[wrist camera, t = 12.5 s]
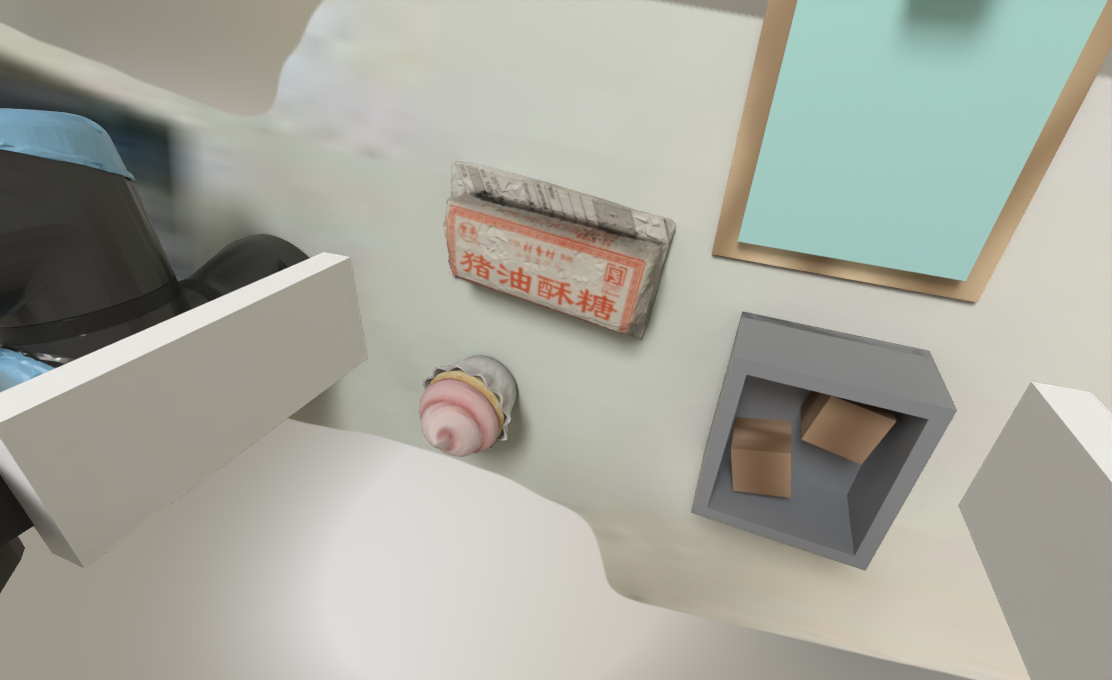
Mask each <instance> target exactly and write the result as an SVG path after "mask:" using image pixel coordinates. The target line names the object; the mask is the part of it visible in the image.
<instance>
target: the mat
mask: <svg viewBox="0 0 1112 680" xmlns="http://www.w3.org/2000/svg"><path fill="white" fill-rule="evenodd" d="M796 4H797V0H768V4H767V9H766V13H765V18H764V22H763V27H762V31H761V36H760V40H759V44H758V49H757V53H756V58H755V62H754V67H753V71H752V76H751V80H750V85H749V89H748V94H747V98H746V103H745V107H744V112H743V116H742V121H741V125H740V130H739V134H738V139H737V143H736V148H735V152H734V157H733V161H732V166H731V170H730V175H729V179H728V184H727V188H726V193H725V197H724V202H723V206H722V211H721V215H720V220H719V224H718V229H717V233H716V238H715V242H714V247H713V251H712V254H714V255H719V256H725V257H730V258H736V259H741V260H747V261H752V262H758V263H763V264H769V265H774V266H780V267H785V268H791V269H796V270H802V271H807V272H813V273H818V274H824V275H829V276H835V277H840V278H846V279H851V280H857V281H862V282H868V283H873V284H879V285H884V286H890V287H895V288H901V289H906V290H912V291H917V292H922V293H928V294H933V295H939V296H944V297H950V298H955V299H961V300H966V301H972V302H978V300H979V298H980V296H981V294H982V293H983V291H984V289H985V287H986V285H987V283H988V281H989V279H990V277H991V275H992V274H993V272H994V270H995V268H996V266H997V264H998V262H999V260H1000V258H1001V256H1002V255H1003V253H1004V251H1005V249H1006V247H1007V245H1008V243H1009V241H1010V239H1011V237H1012V236H1013V234H1014V232H1015V230H1016V228H1017V226H1018V224H1019V222H1020V220H1021V218H1022V216H1023V215H1024V213H1025V211H1026V209H1027V207H1028V205H1029V203H1030V201H1031V199H1032V197H1033V196H1034V194H1035V192H1036V190H1037V188H1038V186H1039V184H1040V182H1041V180H1042V178H1043V177H1044V175H1045V173H1046V171H1047V169H1048V167H1049V165H1050V163H1051V161H1052V159H1053V158H1054V156H1055V154H1056V152H1057V150H1058V148H1059V146H1060V144H1061V142H1062V140H1063V138H1064V137H1065V135H1066V133H1067V131H1068V129H1069V127H1070V125H1071V123H1072V121H1073V119H1074V118H1075V116H1076V114H1077V112H1078V110H1079V108H1080V106H1081V104H1082V102H1083V100H1084V99H1085V97H1086V95H1087V93H1088V91H1089V89H1090V87H1091V85H1092V83H1093V81H1094V80H1095V78H1096V76H1097V74H1098V72H1099V70H1100V68H1101V66H1102V64H1103V62H1104V61H1105V58H1106V57H1107V55H1108V53H1109V51H1110V49H1111V47H1112V0H1108V1H1107V3H1106V5H1105V7H1104V9H1103V10H1102V12H1101V14H1100V16H1099V18H1098V20H1097V22H1096V24H1095V26H1094V28H1093V30H1092V32H1091V34H1090V36H1089V38H1088V40H1087V42H1086V44H1085V46H1084V48H1083V50H1082V52H1081V54H1080V56H1079V58H1078V60H1077V62H1076V64H1075V66H1074V68H1073V70H1072V72H1071V74H1070V76H1069V78H1068V80H1067V82H1066V84H1065V86H1064V88H1063V90H1062V92H1061V94H1060V96H1059V98H1058V100H1057V102H1056V104H1055V106H1054V108H1053V110H1052V112H1051V114H1050V115H1049V117H1048V119H1047V121H1046V123H1045V125H1044V127H1043V129H1042V131H1041V133H1040V135H1039V137H1038V139H1037V141H1036V143H1035V145H1034V147H1033V149H1032V151H1031V153H1030V155H1029V157H1028V159H1027V161H1026V163H1025V165H1024V167H1023V169H1022V171H1021V173H1020V175H1019V177H1018V179H1017V181H1016V183H1015V185H1014V187H1013V189H1012V191H1011V193H1010V195H1009V197H1008V199H1007V201H1006V203H1005V205H1004V207H1003V209H1002V211H1001V213H1000V215H999V217H998V219H997V220H996V222H995V224H994V226H993V228H992V230H991V232H990V234H989V236H988V238H987V240H986V242H985V244H984V246H983V248H982V250H981V252H980V254H979V256H978V258H977V260H976V262H975V264H974V266H973V268H972V270H971V272H970V274H969V276H968V278H967V280H966V281H962V280H956V279H950V278H945V277H939V276H933V275H927V274H922V273H916V272H910V271H905V270H899V269H893V268H887V267H882V266H876V265H870V264H864V263H859V262H853V261H847V260H842V259H836V258H830V257H824V256H819V255H813V254H807V253H801V252H796V251H790V250H784V249H779V248H773V247H767V246H761V245H756V244H750V243H744V242H738V238H739V234H740V230H741V226H742V222H743V218H744V214H745V210H746V206H747V201H748V197H749V193H750V189H751V185H752V181H753V177H754V173H755V169H756V165H757V161H758V157H759V153H760V149H761V145H762V141H763V137H764V133H765V129H766V125H767V121H768V117H769V113H770V109H771V105H772V101H773V97H774V93H775V89H776V85H777V81H778V77H779V73H780V69H781V65H782V61H783V57H784V53H785V49H786V45H787V41H788V37H789V33H790V29H791V25H792V21H793V17H794V13H795V9H796Z"/></svg>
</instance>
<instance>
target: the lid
mask: <svg viewBox="0 0 1112 680" xmlns="http://www.w3.org/2000/svg"><path fill="white" fill-rule="evenodd" d="M1107 1H1108V0H797V4H796V9H795V13H794V17H793V21H792V25H791V29H790V33H789V37H788V41H787V45H786V49H785V53H784V57H783V61H782V65H781V69H780V73H779V77H778V81H777V85H776V89H775V93H774V97H773V101H772V105H771V109H770V113H769V117H768V121H767V125H766V129H765V133H764V137H763V141H762V145H761V149H760V153H759V157H758V161H757V165H756V169H755V173H754V177H753V181H752V185H751V189H750V193H749V197H748V201H747V206H746V210H745V214H744V218H743V222H742V226H741V230H740V234H739V238H738V242H744V243H750V244H756V245H761V246H767V247H773V248H779V249H784V250H790V251H796V252H801V253H807V254H813V255H819V256H824V257H830V258H836V259H842V260H847V261H853V262H859V263H864V264H870V265H876V266H882V267H887V268H893V269H899V270H905V271H910V272H916V273H922V274H927V275H933V276H939V277H945V278H950V279H956V280H962V281H966V280H967V278H968V276H969V274H970V272H971V270H972V268H973V266H974V264H975V262H976V260H977V258H978V256H979V254H980V252H981V250H982V248H983V246H984V244H985V242H986V240H987V238H988V236H989V234H990V232H991V230H992V228H993V226H994V224H995V222H996V220H997V219H998V217H999V215H1000V213H1001V211H1002V209H1003V207H1004V205H1005V203H1006V201H1007V199H1008V197H1009V195H1010V193H1011V191H1012V189H1013V187H1014V185H1015V183H1016V181H1017V179H1018V177H1019V175H1020V173H1021V171H1022V169H1023V167H1024V165H1025V163H1026V161H1027V159H1028V157H1029V155H1030V153H1031V151H1032V149H1033V147H1034V145H1035V143H1036V141H1037V139H1038V137H1039V135H1040V133H1041V131H1042V129H1043V127H1044V125H1045V123H1046V121H1047V119H1048V117H1049V115H1050V114H1051V112H1052V110H1053V108H1054V106H1055V104H1056V102H1057V100H1058V98H1059V96H1060V94H1061V92H1062V90H1063V88H1064V86H1065V84H1066V82H1067V80H1068V78H1069V76H1070V74H1071V72H1072V70H1073V68H1074V66H1075V64H1076V62H1077V60H1078V58H1079V56H1080V54H1081V52H1082V50H1083V48H1084V46H1085V44H1086V42H1087V40H1088V38H1089V36H1090V34H1091V32H1092V30H1093V28H1094V26H1095V24H1096V22H1097V20H1098V18H1099V16H1100V14H1101V12H1102V10H1103V9H1104V7H1105V5H1106V3H1107Z"/></svg>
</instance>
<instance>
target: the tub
mask: <svg viewBox="0 0 1112 680" xmlns="http://www.w3.org/2000/svg"><path fill="white" fill-rule="evenodd" d="M811 390H812V391H816V392H820V393H824V394H828V395H832V396H836V397H840V398H844V399H848V400H852V401H856V402H860V403H864V404H868V405H872V406H877V407H881V408H885V409H889V410H893V411H894V415H895V418H896V422H895V424H894V425H893V426H892V427H891V429H890V430H889V431H888V432H887V434H886V435H885V436H884V437H883V439H882V440H881V441H880V442H879V444H878V445H877V446H876V447H875V448H874V450H873V451H872V452H871V453H870V455H869V456H868V457H867V458H866V460H865V461H864V462H863V463H862V465H861V464H859V463H856V462H854V461H852V460H849V459H847V458H845V457H842V456H840V455H837V454H835V453H833V452H830V451H828V450H826V449H823V448H821V447H818V446H816V445H814V444H811V443H809V442H806V441H804V440H802V439H801V405H802V404H803V402H804V401H805V399H806V398H807V396H808V395H809V393H810V392H811ZM956 411H957V409H956V407H955V405H954V403H953V401H952V398H951V396H950V394H949V392H948V390H947V388H946V386H945V383H944V381H943V379H942V377H941V375H940V373H939V371H938V368H937V366H936V364H935V362H934V360H933V358H932V355H931V353H930V351H927V350H922V349H917V348H913V347H908V346H903V345H899V344H894V343H889V342H884V341H880V340H875V339H870V338H865V337H861V336H856V335H851V334H846V333H842V332H837V331H832V330H828V329H823V328H818V327H813V326H809V325H804V324H799V323H794V322H790V321H785V320H780V319H775V318H771V317H766V316H761V315H757V314H752V313H747V312H742V316H741V319H740V323H739V327H738V330H737V334H736V338H735V342H734V345H733V349H732V353H731V356H730V360H729V364H728V367H727V371H726V375H725V378H724V382H723V386H722V390H721V393H720V397H719V401H718V404H717V408H716V412H715V415H714V419H713V423H712V426H711V430H710V434H709V438H708V441H707V445H706V449H705V452H704V456H703V461H702V465H701V470H700V474H699V479H698V483H697V488H696V493H695V497H694V502H693V506H692V511H691V513H694V514H697V515H700V516H703V517H706V518H709V519H712V520H715V521H718V522H721V523H724V524H727V525H730V526H733V527H736V528H739V529H742V530H745V531H748V532H751V533H754V534H757V535H760V536H763V537H766V538H769V539H772V540H775V541H778V542H781V543H784V544H787V545H790V546H793V547H796V548H799V549H802V550H805V551H808V552H811V553H814V554H817V555H820V556H823V557H826V558H829V559H832V560H835V561H838V562H841V563H844V564H847V565H850V566H853V567H856V568H859V569H862V570H866V569H867V567H868V565H869V563H870V562H871V560H872V558H873V556H874V555H875V553H876V551H877V549H878V548H879V546H880V544H881V542H882V541H883V539H884V537H885V535H886V534H887V532H888V530H889V528H890V527H891V525H892V523H893V521H894V520H895V518H896V516H897V514H898V513H899V511H900V509H901V507H902V506H903V504H904V502H905V500H906V499H907V497H908V495H909V493H910V492H911V490H912V488H913V486H914V485H915V483H916V481H917V479H918V478H919V476H920V474H921V472H922V471H923V469H924V467H925V465H926V464H927V462H928V460H929V458H930V457H931V455H932V453H933V451H934V450H935V448H936V446H937V444H938V443H939V441H940V439H941V437H942V436H943V434H944V432H945V430H946V429H947V427H948V425H949V423H950V422H951V420H952V418H953V416H954V415H955V413H956ZM736 417H741V418H757V419H772V420H788V421H791V498H788V497H780V496H772V495H764V494H755V493H747V492H739V491H733V478H732V460H731V445H732V438H733V432H734V425H735V419H736Z"/></svg>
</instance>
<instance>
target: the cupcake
mask: <svg viewBox="0 0 1112 680" xmlns="http://www.w3.org/2000/svg"><path fill="white" fill-rule="evenodd" d="M423 386H424V389H425V392H424V394H423V395H422V397H421V401H420V409H419V413H420V419H421V426H422V432H423V433H424V436H425V438H426V439H427V441H428V442H429V443H430V444H431V445H432V446H433V447H435V448H438V449H440V450H441V451H443V452H444V453H446V454H448V455H452V456H459V457H462V456H467V455H469V454H471V453H476V452H480V451H484V450H486V449H488V450H493V449H494V446H495V442H496V441H505V440H507V430H508V423H510V421H511V411H512V408H513V406H514V403H515V400H516V398H517V388H516V383H515V380H514V378H513V376H512V374H511V373H510V371H509V370H508V369H507V368H506V367H505V366H504V365H503V364H501V363H500V362H499V361H497V360H495V359H493V358H491V357H487V356H473V357H470V358H467V359H465V360H463V361H461V362H458V363H456V364H453V365H449V366H440V367H435V368H434V370H433V376H431V377H428V378H426V379H425V380H423Z"/></svg>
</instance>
